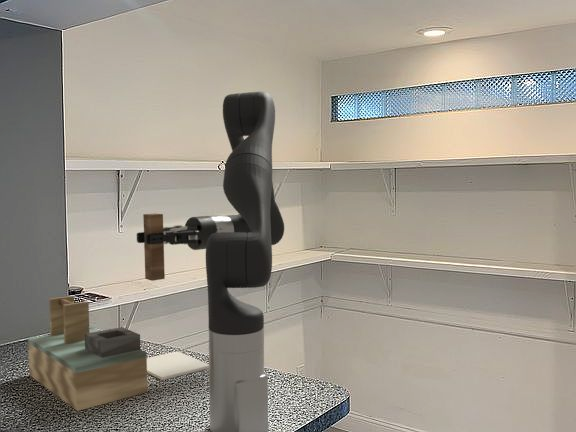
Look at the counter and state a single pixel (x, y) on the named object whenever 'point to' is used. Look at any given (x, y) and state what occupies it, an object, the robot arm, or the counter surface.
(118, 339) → the wooden socket fixture
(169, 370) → the mat
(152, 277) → the walnut key
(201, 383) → the counter surface
